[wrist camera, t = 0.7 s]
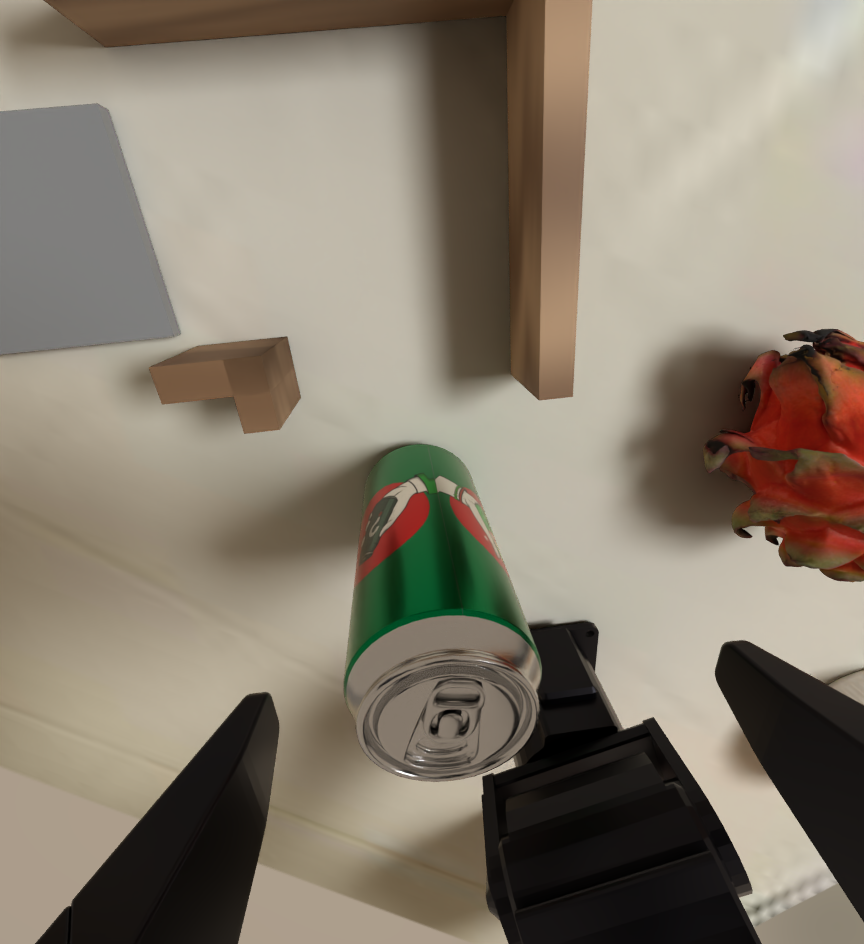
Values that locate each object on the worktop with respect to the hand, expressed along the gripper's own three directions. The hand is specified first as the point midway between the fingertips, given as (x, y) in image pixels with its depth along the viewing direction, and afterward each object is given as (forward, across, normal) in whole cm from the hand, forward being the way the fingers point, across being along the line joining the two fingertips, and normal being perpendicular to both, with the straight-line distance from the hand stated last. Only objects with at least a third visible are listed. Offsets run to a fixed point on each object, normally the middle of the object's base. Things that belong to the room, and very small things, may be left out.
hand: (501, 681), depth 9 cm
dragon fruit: (+13, -16, 0) cm, 21 cm away
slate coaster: (+12, +14, -9) cm, 21 cm away
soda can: (+13, +1, +2) cm, 13 cm away
